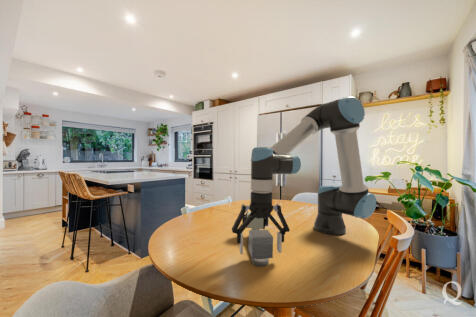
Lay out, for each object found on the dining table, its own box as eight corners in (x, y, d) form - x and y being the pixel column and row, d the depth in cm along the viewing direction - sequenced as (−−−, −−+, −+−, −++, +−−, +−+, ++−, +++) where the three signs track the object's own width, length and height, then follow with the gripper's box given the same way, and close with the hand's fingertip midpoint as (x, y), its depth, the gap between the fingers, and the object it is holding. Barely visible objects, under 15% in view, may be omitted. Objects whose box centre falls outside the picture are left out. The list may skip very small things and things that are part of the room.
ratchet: (258, 241, 87) (258, 225, 88) (270, 266, 68) (271, 245, 68) (244, 242, 87) (244, 226, 87) (253, 266, 67) (253, 245, 67)
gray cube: (267, 248, 74) (267, 229, 74) (272, 257, 67) (273, 237, 67) (248, 249, 73) (248, 230, 73) (252, 258, 66) (252, 237, 66)
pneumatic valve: (267, 240, 90) (268, 213, 90) (241, 237, 92) (242, 211, 92) (268, 235, 95) (268, 210, 95) (244, 233, 97) (244, 208, 97)
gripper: (291, 189, 76) (290, 246, 75) (225, 189, 73) (224, 248, 73) (299, 193, 68) (298, 255, 68) (226, 193, 65) (225, 258, 65)
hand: (260, 251), depth 70 cm, fingers open, 13 cm apart
